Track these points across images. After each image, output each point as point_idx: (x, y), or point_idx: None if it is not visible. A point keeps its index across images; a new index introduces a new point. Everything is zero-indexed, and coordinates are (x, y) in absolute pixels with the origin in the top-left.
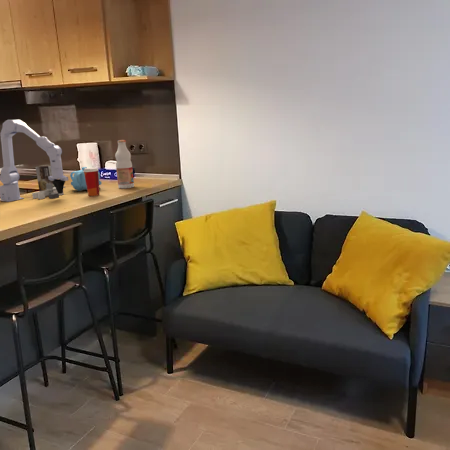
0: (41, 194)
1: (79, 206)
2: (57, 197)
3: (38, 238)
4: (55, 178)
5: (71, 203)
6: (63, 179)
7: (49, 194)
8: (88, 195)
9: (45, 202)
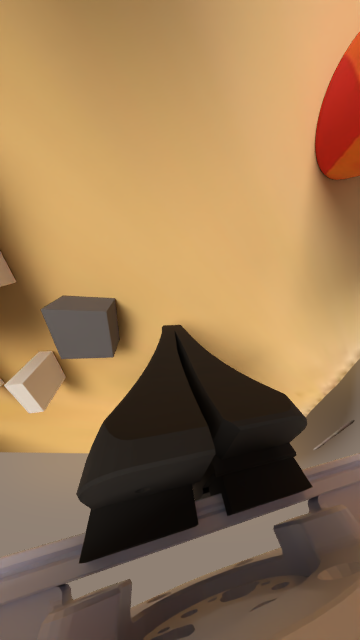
0: (41, 389)
1: (331, 371)
2: (115, 310)
3: (322, 443)
4: (245, 577)
5: (291, 361)
6: (348, 487)
7: (77, 357)
8: (319, 162)
9: None
